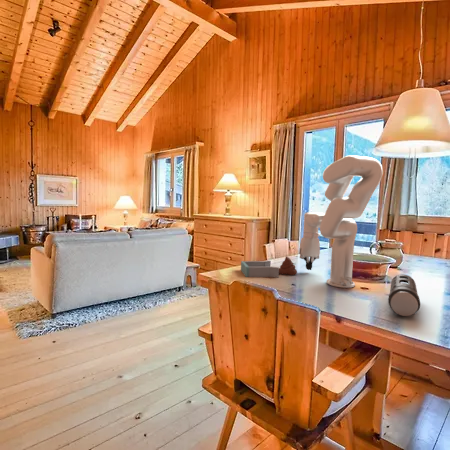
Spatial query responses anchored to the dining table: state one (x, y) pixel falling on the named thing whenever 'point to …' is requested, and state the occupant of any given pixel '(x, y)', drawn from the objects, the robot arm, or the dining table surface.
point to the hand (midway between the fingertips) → (308, 269)
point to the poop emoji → (287, 267)
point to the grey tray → (259, 269)
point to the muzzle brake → (403, 296)
